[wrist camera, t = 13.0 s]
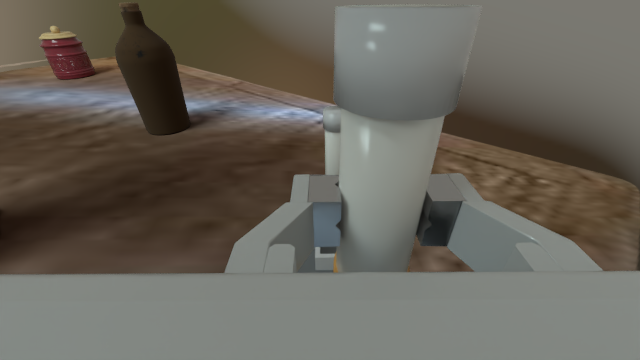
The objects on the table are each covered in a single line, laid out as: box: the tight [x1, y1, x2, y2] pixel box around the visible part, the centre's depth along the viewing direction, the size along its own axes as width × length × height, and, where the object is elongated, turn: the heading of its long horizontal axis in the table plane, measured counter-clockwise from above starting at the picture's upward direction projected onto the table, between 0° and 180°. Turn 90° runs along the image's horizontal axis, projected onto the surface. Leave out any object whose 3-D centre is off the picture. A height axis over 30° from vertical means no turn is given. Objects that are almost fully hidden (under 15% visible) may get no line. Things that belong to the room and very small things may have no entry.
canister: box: [39, 26, 95, 79], centre depth 108 cm, size 13×13×18 cm
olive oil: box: [115, 3, 190, 135], centre depth 60 cm, size 11×11×25 cm
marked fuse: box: [333, 5, 482, 273], centre depth 10 cm, size 3×3×14 cm
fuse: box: [323, 106, 341, 175], centre depth 35 cm, size 3×3×14 cm
